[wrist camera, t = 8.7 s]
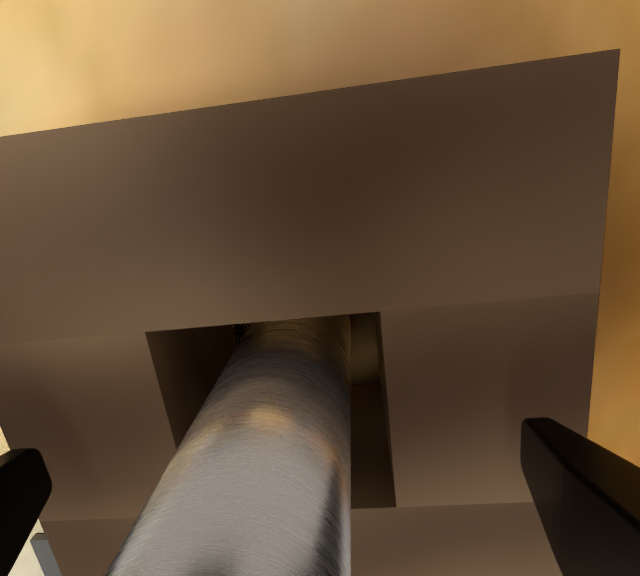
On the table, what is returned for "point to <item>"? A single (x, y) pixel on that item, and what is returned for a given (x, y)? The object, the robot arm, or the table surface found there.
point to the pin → (259, 465)
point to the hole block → (316, 294)
